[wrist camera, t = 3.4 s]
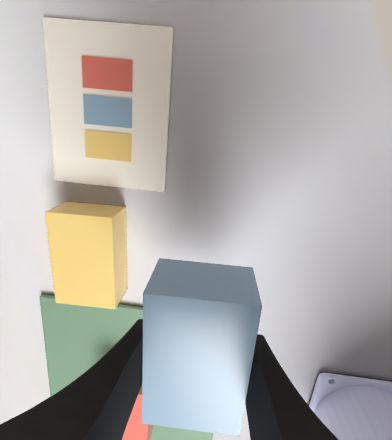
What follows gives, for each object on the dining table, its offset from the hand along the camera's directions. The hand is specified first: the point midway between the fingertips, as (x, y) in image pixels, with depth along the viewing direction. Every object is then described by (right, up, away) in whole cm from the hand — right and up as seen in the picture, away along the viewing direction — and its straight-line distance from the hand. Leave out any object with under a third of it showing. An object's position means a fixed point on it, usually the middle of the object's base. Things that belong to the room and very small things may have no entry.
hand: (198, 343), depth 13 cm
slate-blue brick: (0, 0, +1) cm, 2 cm away
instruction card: (-6, +13, +5) cm, 15 cm away
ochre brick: (-8, +4, +9) cm, 12 cm away
